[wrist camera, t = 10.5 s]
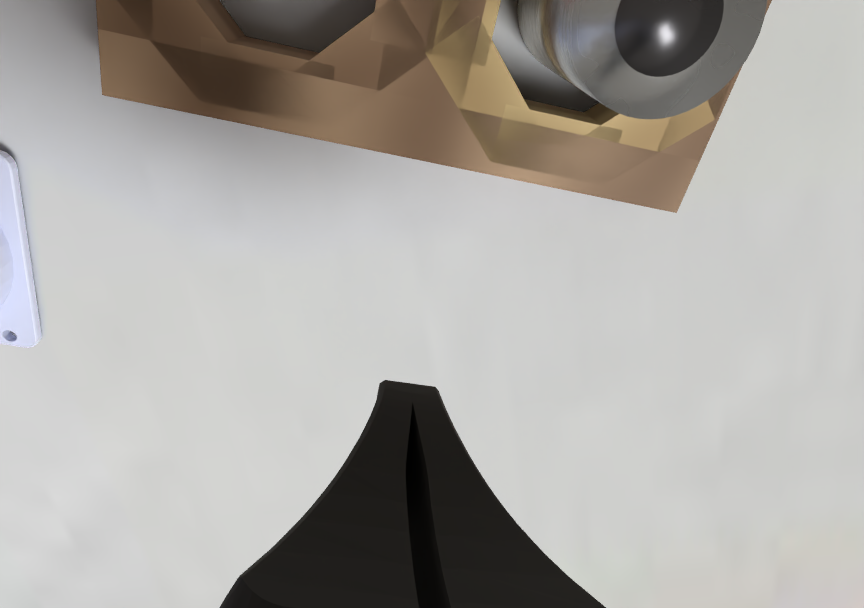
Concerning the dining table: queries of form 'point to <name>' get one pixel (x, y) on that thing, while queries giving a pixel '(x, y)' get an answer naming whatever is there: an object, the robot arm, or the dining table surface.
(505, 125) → the jig plate
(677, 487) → the dining table surface
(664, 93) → the bushing
